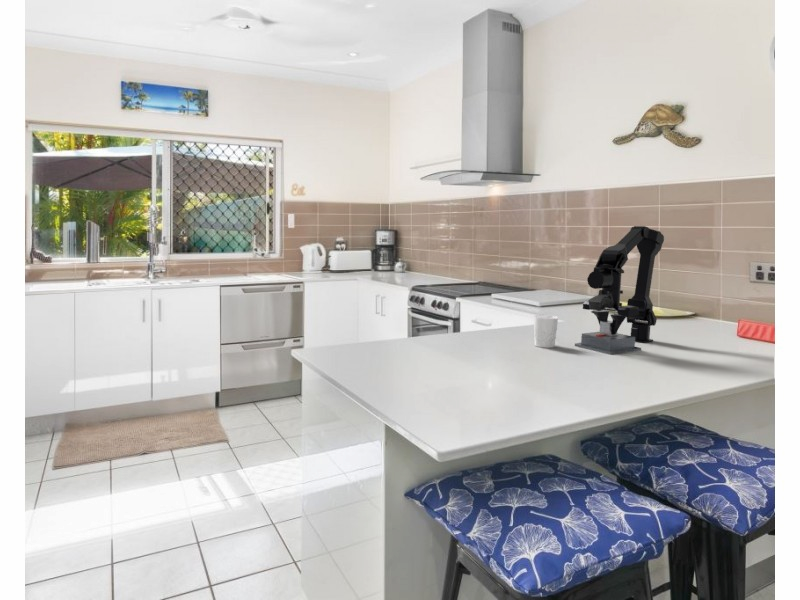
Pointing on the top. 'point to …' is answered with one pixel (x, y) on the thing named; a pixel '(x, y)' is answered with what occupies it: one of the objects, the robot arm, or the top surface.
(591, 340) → the housing
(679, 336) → the top surface
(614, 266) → the robot arm
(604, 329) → the column
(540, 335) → the white cup
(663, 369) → the top surface
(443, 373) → the top surface
